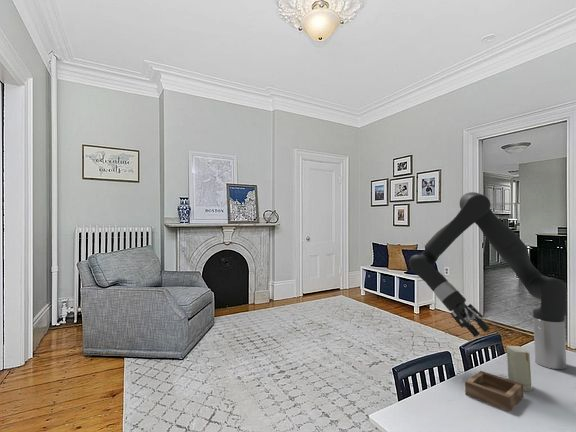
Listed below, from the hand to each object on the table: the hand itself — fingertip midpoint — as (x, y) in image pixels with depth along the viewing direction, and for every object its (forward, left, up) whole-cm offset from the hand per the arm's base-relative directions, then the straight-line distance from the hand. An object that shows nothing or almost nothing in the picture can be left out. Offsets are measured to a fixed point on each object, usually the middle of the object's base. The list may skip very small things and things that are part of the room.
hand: (482, 332), depth 113 cm
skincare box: (0, +11, -15) cm, 18 cm away
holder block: (+13, +8, -15) cm, 21 cm away
